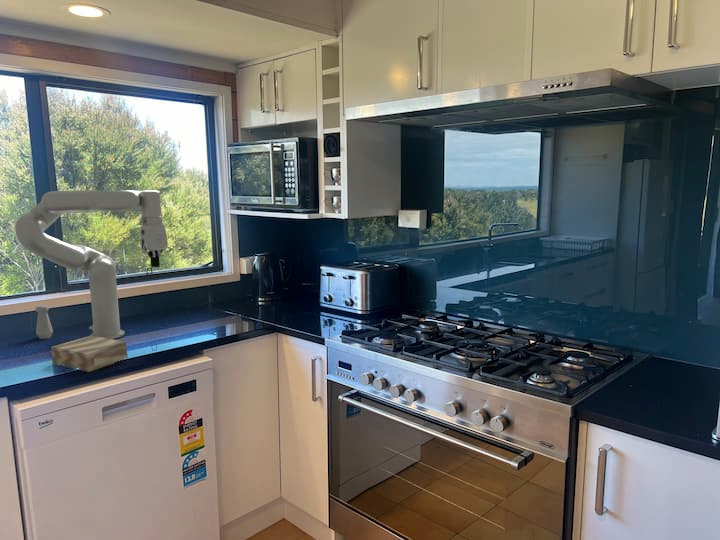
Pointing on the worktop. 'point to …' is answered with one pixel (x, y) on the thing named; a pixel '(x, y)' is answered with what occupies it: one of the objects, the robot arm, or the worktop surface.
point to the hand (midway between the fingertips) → (155, 266)
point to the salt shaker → (43, 323)
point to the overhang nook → (89, 353)
